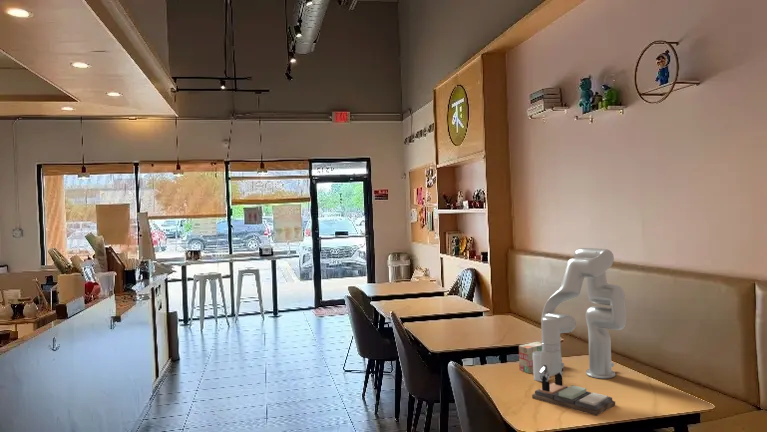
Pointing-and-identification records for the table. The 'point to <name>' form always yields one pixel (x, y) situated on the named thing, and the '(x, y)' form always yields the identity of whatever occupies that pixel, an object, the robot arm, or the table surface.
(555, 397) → the dark grey tile board
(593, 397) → the cream tile
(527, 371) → the stack of blocks
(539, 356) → the mug
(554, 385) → the terracotta tile
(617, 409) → the table surface
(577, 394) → the sage tile
